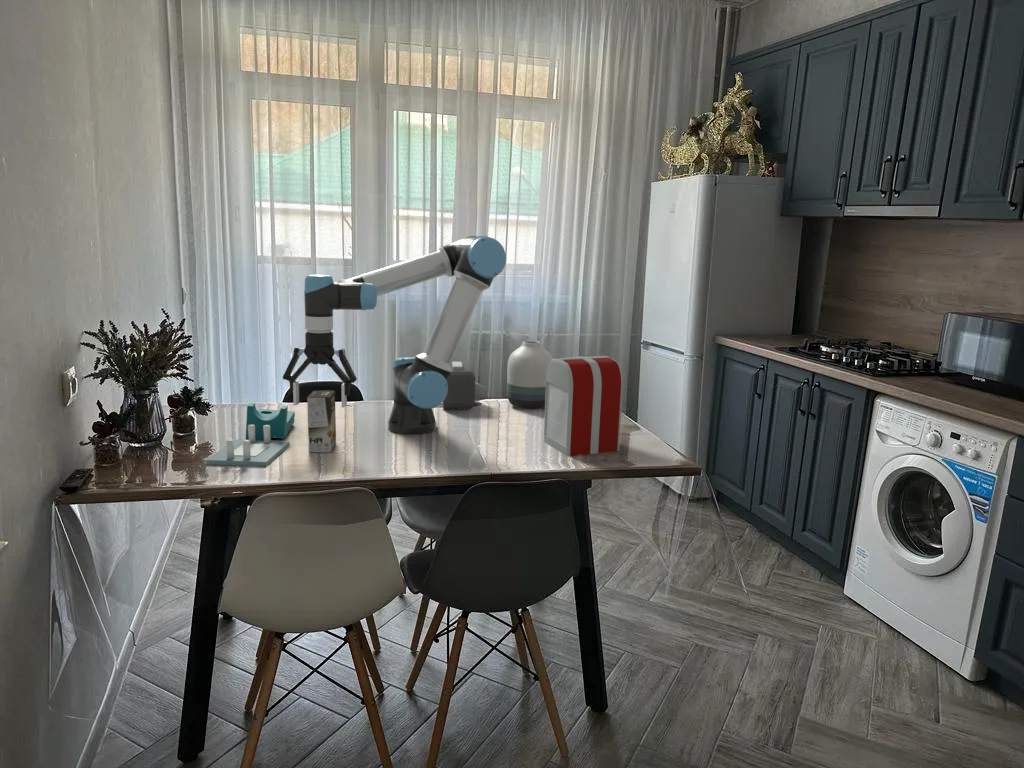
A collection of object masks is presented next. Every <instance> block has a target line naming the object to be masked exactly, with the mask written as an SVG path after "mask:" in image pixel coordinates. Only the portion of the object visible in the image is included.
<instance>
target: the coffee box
mask: <svg viewBox="0 0 1024 768" xmlns="http://www.w3.org/2000/svg"><path fill="white" fill-rule="evenodd" d="M306 401H307V433H308V453H331V452H332V451H333V449H334V447H335V446H336V444H337V425H336V424H337V423H336V422H337V419H336V390H313V391H312V392H311V393H309V395H308V396H307V397H306Z"/></svg>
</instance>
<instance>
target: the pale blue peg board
mask: <svg viewBox="0 0 1024 768" xmlns="http://www.w3.org/2000/svg"><path fill="white" fill-rule="evenodd" d="M263 430H264V441H263V440H255V425H248V436H249V440H246V439H226V440H225V446H224V447H222V448H221V449H219V450H218V451H216V452H215V453H214V454H212V455H211V456H209V457H208V458H207V459H206V460H205V465H210V466H211V465H212V466H213V465H214V466H216V465H217V466H242V467H243V466H244V467H247V466H249V467H250V466H251V467H267V466H269V465H270V464H271V463H272V462H273V461H274V460H275V459H276V458H277V457H279V456H280V455H281V454H282V453H283V452H285V450H286V449H288V448H289V447H290V446H291V441H290V440H289V441H288V440H287V441H285V440H271V439H272V437H270V425H264V426H263Z"/></svg>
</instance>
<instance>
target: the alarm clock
mask: <svg viewBox="0 0 1024 768" xmlns="http://www.w3.org/2000/svg"><path fill="white" fill-rule="evenodd" d="M451 362H452V364H451V363H450V368H451V371H452V372H451V374H450V377H449V379H448V381H447V383H448V393H447V396H446V398H445V399H444V401H443V402H442V410H469V409H472V408H473V407H474V406H475V402H476V375H475V372H474V371H475V370H474V368H473V367H472V365H470V364H464V363H463V362H462V361H451Z"/></svg>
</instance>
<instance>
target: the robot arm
mask: <svg viewBox="0 0 1024 768" xmlns="http://www.w3.org/2000/svg"><path fill="white" fill-rule="evenodd" d="M506 254H507V253H506V250H505V248H504V246H503V245H502V243H501V242H499V241H498V240H497V239H495V238H493V237H489V236H488V235H480V236H477V235H470V236H465V237H462V238H460V239H459V240H456V241H454V242H451V243H449V244H448V243H447V244H446V245H443V246H439V247H438V249H437V251H434V252H431V253H428V254H425V255H422V256H419V257H415V258H412V259H409V260H405V261H401V262H399V263H395V264H392V265H389V266H386V267H383V268H379V269H376V270H373V271H369V272H367V273H363V274H360V275H357V276H354V277H350V278H342V279H340V280H338V281H337V282H334V279H333V276H332V275H330V274H309V275H306V276H305V278H304V290H303V292H304V293H303V295H304V329H305V330H306V332H304V338H305V339H304V340H305V344H304V345H305V347H303V348H302V347H301V346H296V347H293V352H292V353H293V355H292V358H291V359H290V360H289V361H290V362H289V363H288V366H287V367H286V369H285V372H284V373H283V375H282V379H283V380H285V381H288V382H289V393H290V394H292V395H293V397H292V398H293V401H292V402H293V406H297V405H299V404H300V381H299V380H297V379H299V377H300V376H301V374H302V373H303V372H304V371H305V370H306V368H307V367H308V366H309V365H310V364H313V365H323V366H324V365H327V366H328V367H330V369H332V371H333V372H334V374H336V376H338V378H339V379H340V381H341V382H342V384H341V386H340V387H341V389H340V390H341V408H345V407H347V406H348V405H347V404H348V403H347V401H348V400H347V396H349V395H350V394H351V384H352V383H353V384H354V383H355V382H356V381H357V380H358V379H357V378H358V377H356V376H357V375H356V374H355V372H354V371H353V369H352V366H351V364H350V362H349V360H348V358H347V357H346V350H345V349H344V348H341V349H335V347H334V332H333V330H334V310H336V311H337V310H347V311H349V310H350V311H352V310H354V311H356V310H357V311H367V310H368V311H369V310H375V308H376V307H377V303H378V297H380V296H382V295H386V294H389V293H392V292H395V291H400V290H402V289H405V288H409V287H411V286H414V285H417V284H420V283H425V282H427V281H430V280H434V279H436V278H440V277H443V276H446V277H448V278H451V277H455V280H454V283H453V285H452V287H451V289H450V291H449V293H448V296H447V298H446V300H445V303H444V305H443V307H442V309H441V312H440V314H439V316H438V319H437V321H436V323H435V325H434V326H433V330H432V331H431V333H430V336H429V339H428V341H427V343H426V345H425V347H424V350H423V352H422V353H418V354H416V355H415V356H408V357H405V356H403V357H397V358H395V359H394V360H393V363H392V365H393V366H392V372H393V373H392V375H393V377H392V379H393V382H392V383H393V385H392V386H393V405H392V409H391V412H390V415H389V418H388V422H387V424H388V425H387V426H388V427H387V429H388V430H389V431H390V432H394V433H397V434H404V435H405V434H406V435H407V434H408V435H416V434H417V435H418V434H426V433H429V432H432V431H434V430H436V429H437V428H436V426H437V421H436V418H435V415H434V412H433V409H434V408H435V407H438V406H439V405H441V404H443V401H444V399H445V398H446V396H447V393H448V383H447V381H448V379H449V377H450V374H451V372H452V371H451V368H450V364H451V362H452V359H453V357H454V355H455V353H456V350H457V349H458V347H459V343H460V342H461V339H462V337H463V334H464V333H465V331H466V329H467V326H468V324H469V321H470V319H471V317H472V315H473V312H475V311H474V310H475V308H476V306H477V304H478V303H479V302H478V301H479V299H480V297H481V295H482V293H483V291H486V290H488V289H490V287H491V285H492V283H493V281H494V279H495V278H496V277H497V276H499V274H501V273H502V272H503V270H505V269H504V268H505V266H506V264H507V255H506ZM303 354H304V355H305V356H306V357H307V358H306V359H305V360H304V362H303V363H302V364H301V365H300V366H299V367H298V368H297V370H296V371H295V372H294V373H293V371H294V369H295V367H296V365H297V363H298V360H299V359H300V356H302V355H303ZM334 356H336V357H337V358H339V362H340V363H341V365H342V367H343V368H344V371H345V372H344V371H343V370H342V368H341V367H340V366H339V365H338V364H337V362H336V360H335V359H334V358H333V357H334ZM292 373H293V374H292Z"/></svg>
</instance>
